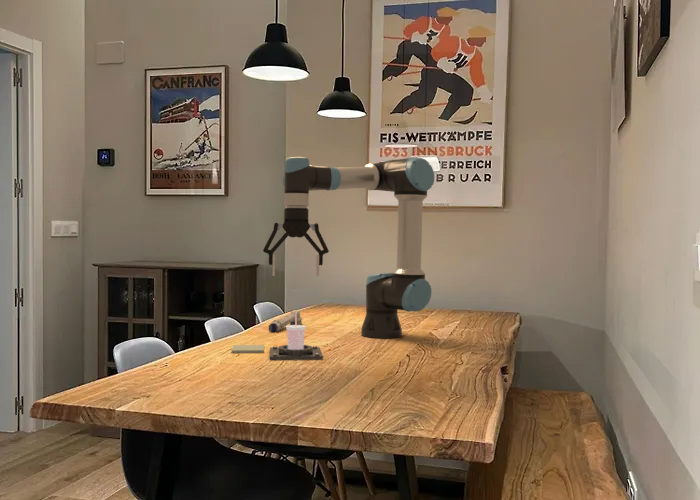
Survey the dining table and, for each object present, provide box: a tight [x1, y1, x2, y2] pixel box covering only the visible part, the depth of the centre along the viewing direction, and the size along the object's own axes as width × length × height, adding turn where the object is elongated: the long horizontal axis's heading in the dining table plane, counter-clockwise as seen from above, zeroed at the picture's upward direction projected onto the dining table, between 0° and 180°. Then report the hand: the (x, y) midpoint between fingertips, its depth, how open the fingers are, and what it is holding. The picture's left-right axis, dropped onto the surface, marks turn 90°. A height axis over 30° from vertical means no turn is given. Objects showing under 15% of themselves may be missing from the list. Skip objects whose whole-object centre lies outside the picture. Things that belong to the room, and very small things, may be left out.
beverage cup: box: [285, 309, 306, 349], centre depth 217 cm, size 6×6×14 cm
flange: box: [269, 344, 324, 361], centre depth 217 cm, size 16×16×2 cm
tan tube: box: [268, 309, 303, 333], centre depth 274 cm, size 5×7×25 cm
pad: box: [231, 344, 265, 354], centre depth 224 cm, size 10×10×1 cm
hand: (295, 275), depth 216 cm, fingers open, 13 cm apart
